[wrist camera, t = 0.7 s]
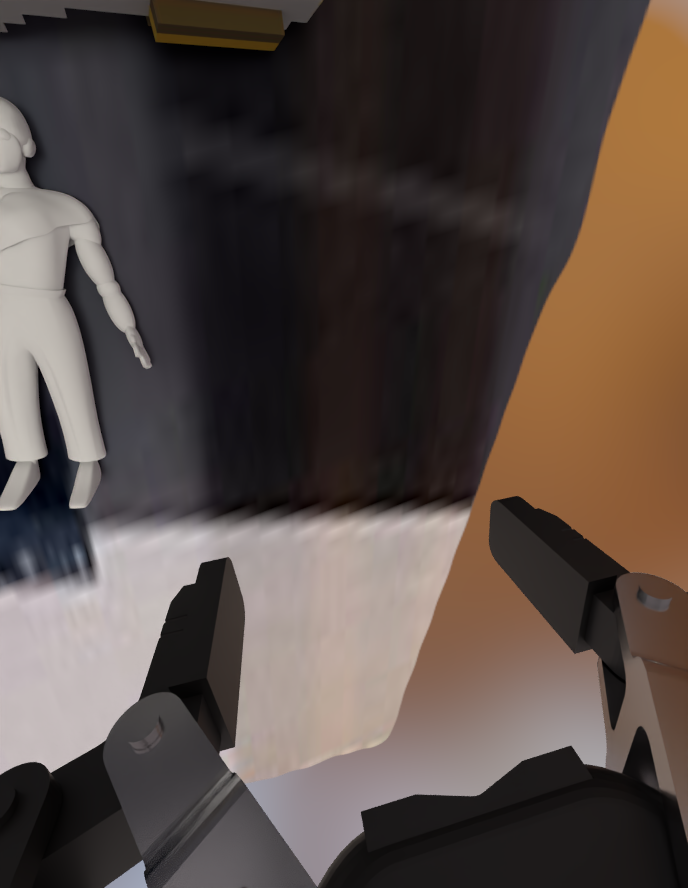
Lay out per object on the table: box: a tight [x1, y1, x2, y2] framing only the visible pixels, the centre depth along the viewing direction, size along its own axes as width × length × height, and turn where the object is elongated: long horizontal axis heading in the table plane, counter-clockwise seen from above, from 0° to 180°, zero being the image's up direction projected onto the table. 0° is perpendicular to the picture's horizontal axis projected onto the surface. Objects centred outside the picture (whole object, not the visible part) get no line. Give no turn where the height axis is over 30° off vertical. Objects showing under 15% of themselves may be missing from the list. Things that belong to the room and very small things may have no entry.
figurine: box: [0, 97, 152, 511], centre depth 24 cm, size 14×6×25 cm
